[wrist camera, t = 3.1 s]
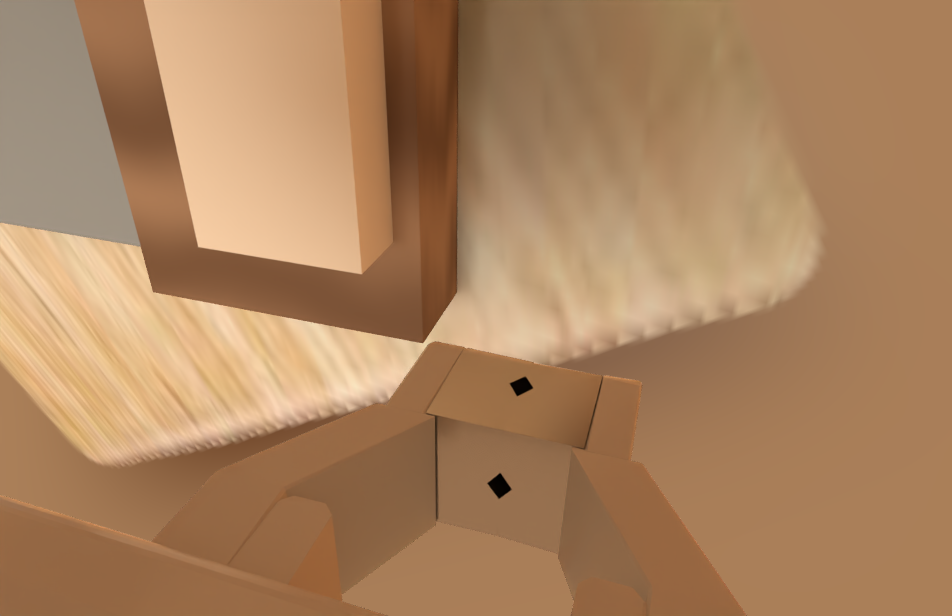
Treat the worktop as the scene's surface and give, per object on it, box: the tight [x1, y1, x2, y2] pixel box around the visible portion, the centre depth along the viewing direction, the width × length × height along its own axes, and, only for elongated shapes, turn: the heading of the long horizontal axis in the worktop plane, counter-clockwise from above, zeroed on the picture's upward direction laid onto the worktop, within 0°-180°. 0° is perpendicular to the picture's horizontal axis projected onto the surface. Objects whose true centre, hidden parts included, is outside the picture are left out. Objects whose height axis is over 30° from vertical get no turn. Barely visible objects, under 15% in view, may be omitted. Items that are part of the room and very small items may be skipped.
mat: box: [0, 0, 141, 246], centre depth 28 cm, size 15×14×1 cm
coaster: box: [144, 0, 393, 274], centre depth 20 cm, size 8×6×2 cm
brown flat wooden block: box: [74, 0, 458, 343], centre depth 23 cm, size 16×12×4 cm
